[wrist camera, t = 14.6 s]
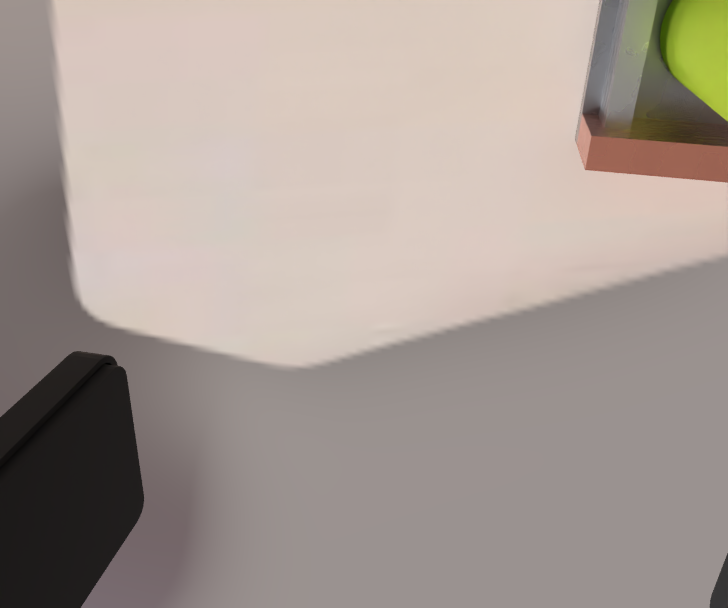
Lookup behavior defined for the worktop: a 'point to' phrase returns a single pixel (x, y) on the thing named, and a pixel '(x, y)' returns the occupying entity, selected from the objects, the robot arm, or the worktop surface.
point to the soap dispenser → (698, 49)
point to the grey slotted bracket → (644, 103)
